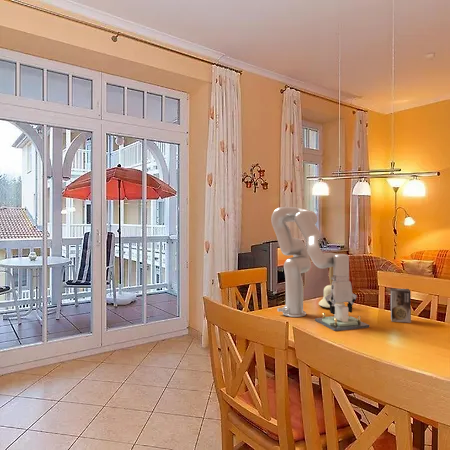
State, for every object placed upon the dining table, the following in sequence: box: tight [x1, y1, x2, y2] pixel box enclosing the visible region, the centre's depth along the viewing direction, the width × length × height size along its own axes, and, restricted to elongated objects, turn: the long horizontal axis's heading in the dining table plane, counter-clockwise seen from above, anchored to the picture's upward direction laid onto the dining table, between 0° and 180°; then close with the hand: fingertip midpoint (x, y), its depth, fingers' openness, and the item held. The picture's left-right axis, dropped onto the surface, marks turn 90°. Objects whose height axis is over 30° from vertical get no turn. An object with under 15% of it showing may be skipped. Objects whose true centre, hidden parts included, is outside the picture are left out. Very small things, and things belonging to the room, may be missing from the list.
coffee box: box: [390, 287, 412, 324], centre depth 196 cm, size 9×6×16 cm
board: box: [322, 304, 362, 326], centre depth 191 cm, size 17×14×8 cm
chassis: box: [314, 312, 370, 332], centre depth 191 cm, size 19×19×5 cm
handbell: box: [318, 267, 346, 309], centre depth 225 cm, size 15×15×25 cm
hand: (341, 312), depth 191 cm, fingers open, 9 cm apart
